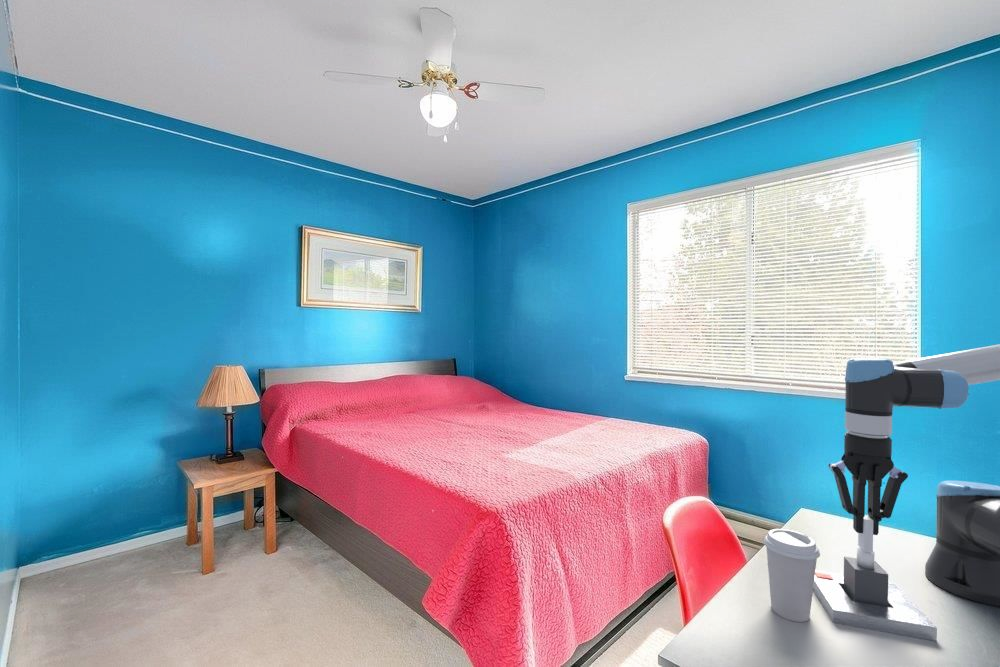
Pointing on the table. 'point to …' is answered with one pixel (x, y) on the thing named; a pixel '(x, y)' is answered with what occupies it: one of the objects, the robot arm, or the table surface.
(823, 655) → the table surface
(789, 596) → the coffee cup
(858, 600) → the plug
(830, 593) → the socket plate
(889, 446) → the robot arm
